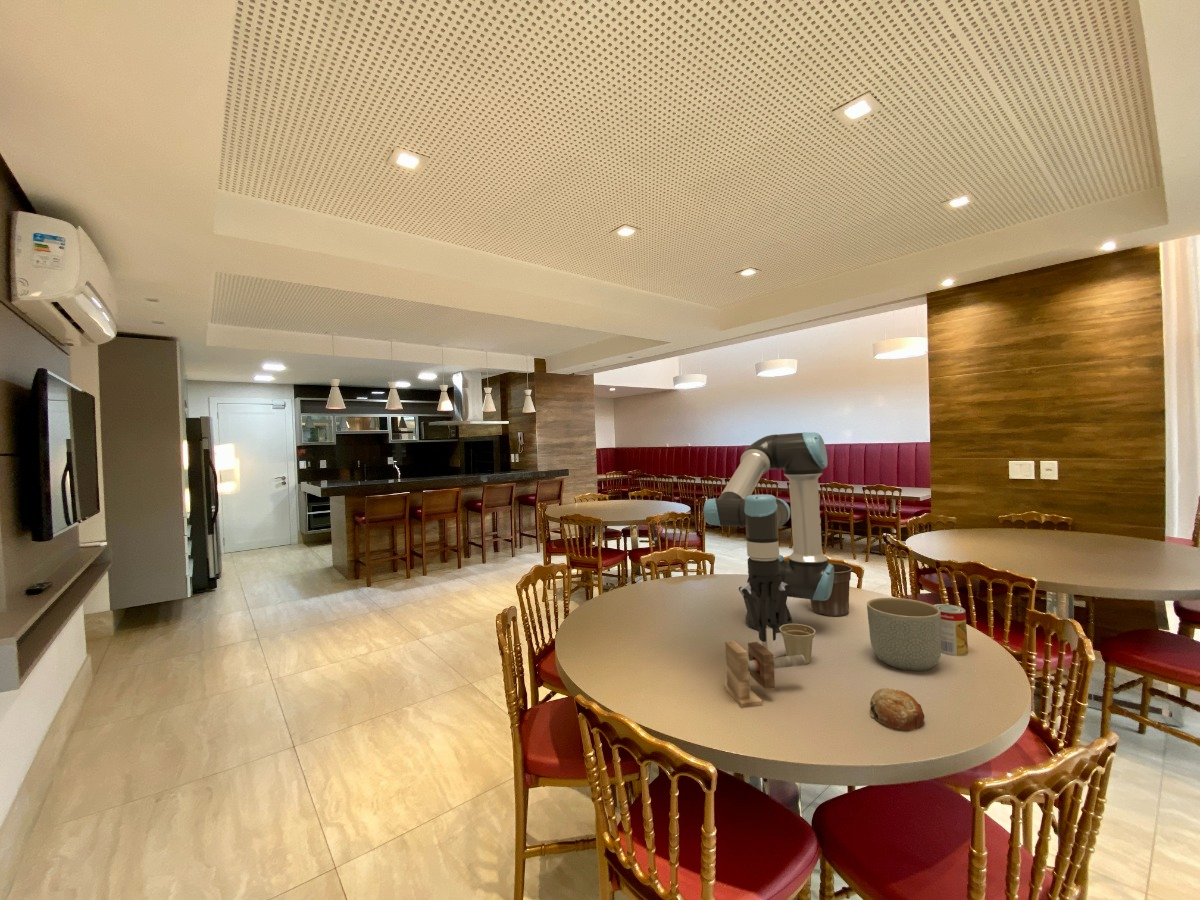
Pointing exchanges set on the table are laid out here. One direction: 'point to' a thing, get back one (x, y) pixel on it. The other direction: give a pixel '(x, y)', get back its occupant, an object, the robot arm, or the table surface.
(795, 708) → the table surface
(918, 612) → the planter
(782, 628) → the flower pot
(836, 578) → the plant pot
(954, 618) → the canned food
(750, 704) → the rail stand
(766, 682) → the collar
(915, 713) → the bread roll
